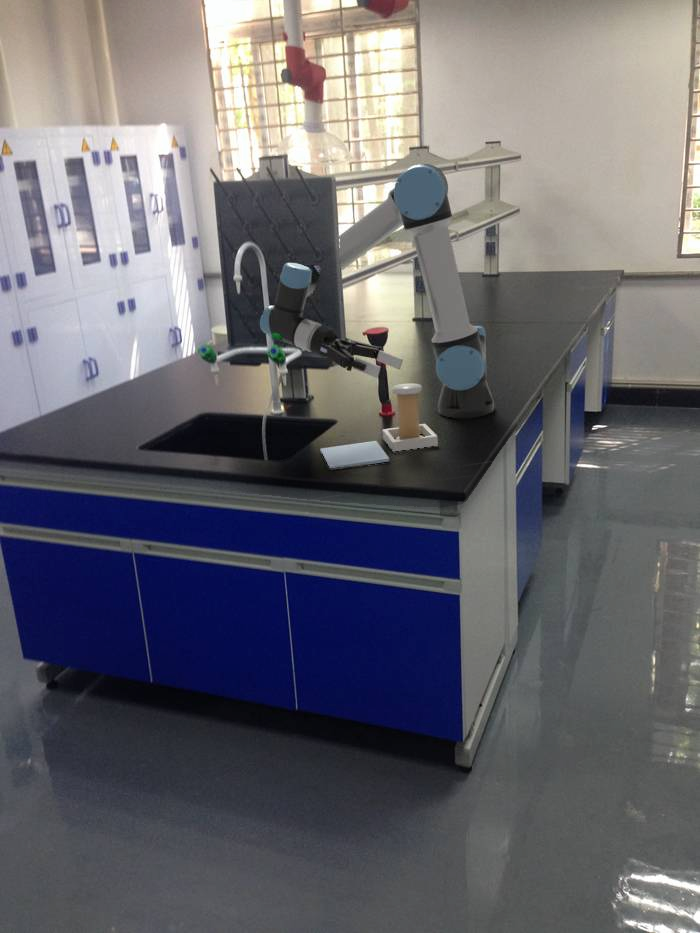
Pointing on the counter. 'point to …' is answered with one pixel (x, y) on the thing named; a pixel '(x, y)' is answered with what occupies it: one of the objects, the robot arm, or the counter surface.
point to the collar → (411, 443)
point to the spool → (408, 410)
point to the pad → (354, 454)
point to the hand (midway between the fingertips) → (390, 368)
